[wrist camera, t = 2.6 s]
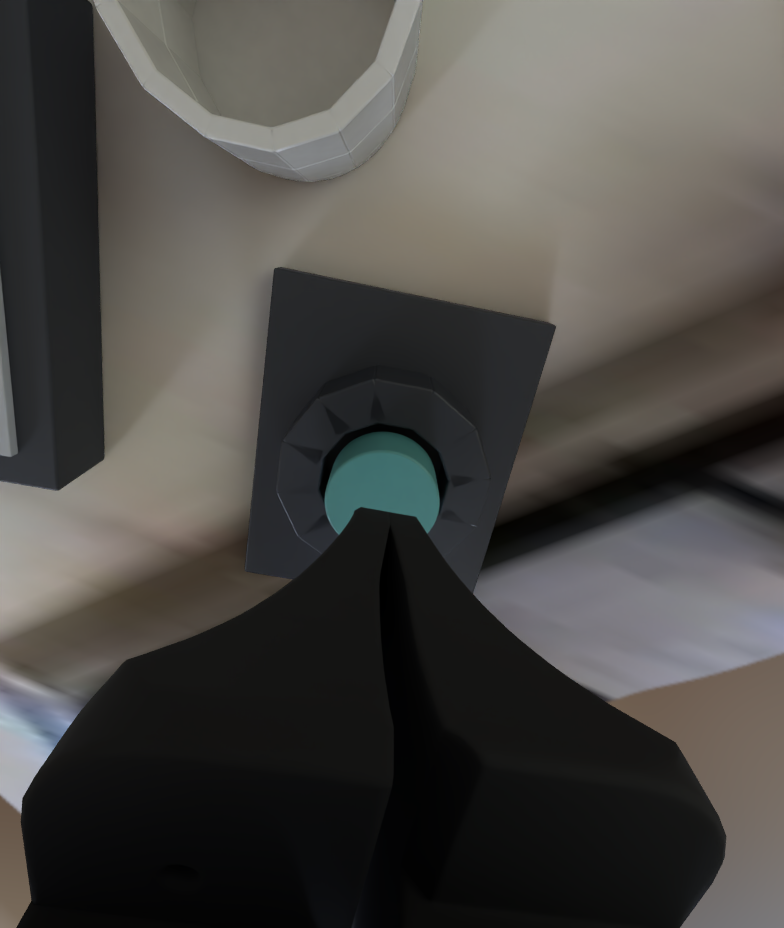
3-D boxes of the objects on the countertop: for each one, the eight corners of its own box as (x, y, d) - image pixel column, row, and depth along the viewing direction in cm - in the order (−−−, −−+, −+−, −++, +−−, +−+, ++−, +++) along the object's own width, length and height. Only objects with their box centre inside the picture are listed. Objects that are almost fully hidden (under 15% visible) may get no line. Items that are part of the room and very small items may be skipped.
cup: (393, 202, 14) (391, 178, 9) (180, 156, 13) (80, 109, 9) (440, -67, 11) (465, -251, 7) (188, -132, 11) (63, -364, 7)
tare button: (423, 533, 15) (426, 562, 14) (324, 516, 15) (317, 543, 13) (446, 441, 14) (452, 462, 13) (339, 421, 14) (332, 440, 12)
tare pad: (466, 596, 19) (476, 645, 16) (249, 560, 18) (227, 605, 16) (550, 322, 15) (578, 334, 12) (279, 266, 14) (256, 268, 12)
